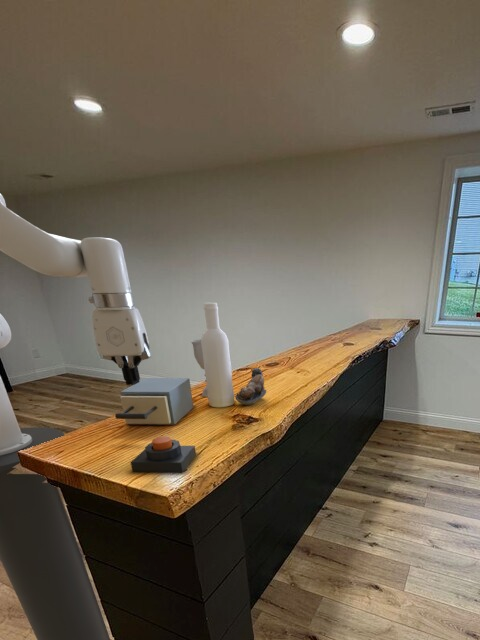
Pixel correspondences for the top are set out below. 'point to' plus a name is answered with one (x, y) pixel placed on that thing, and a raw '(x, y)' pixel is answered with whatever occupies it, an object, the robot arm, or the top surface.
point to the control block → (164, 458)
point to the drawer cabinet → (172, 387)
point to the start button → (162, 443)
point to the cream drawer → (145, 409)
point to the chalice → (199, 359)
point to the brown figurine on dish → (252, 389)
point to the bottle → (216, 360)
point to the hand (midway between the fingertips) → (133, 383)
